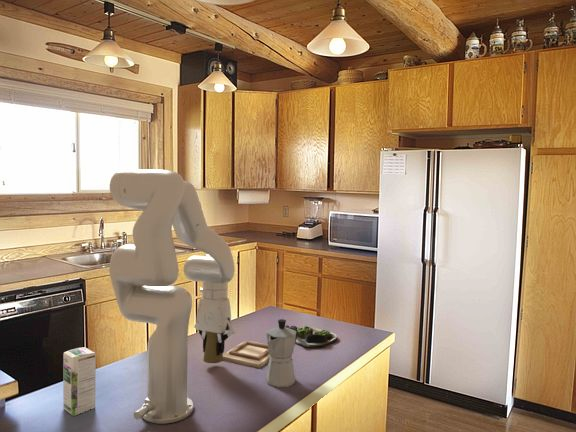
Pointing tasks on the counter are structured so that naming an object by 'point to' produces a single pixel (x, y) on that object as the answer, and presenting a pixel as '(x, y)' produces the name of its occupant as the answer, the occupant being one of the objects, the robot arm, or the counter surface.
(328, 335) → the salad plate
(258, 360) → the maple board
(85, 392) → the syrup box
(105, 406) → the counter surface
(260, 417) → the counter surface
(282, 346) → the coffee maker
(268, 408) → the counter surface
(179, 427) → the counter surface
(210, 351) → the cork
